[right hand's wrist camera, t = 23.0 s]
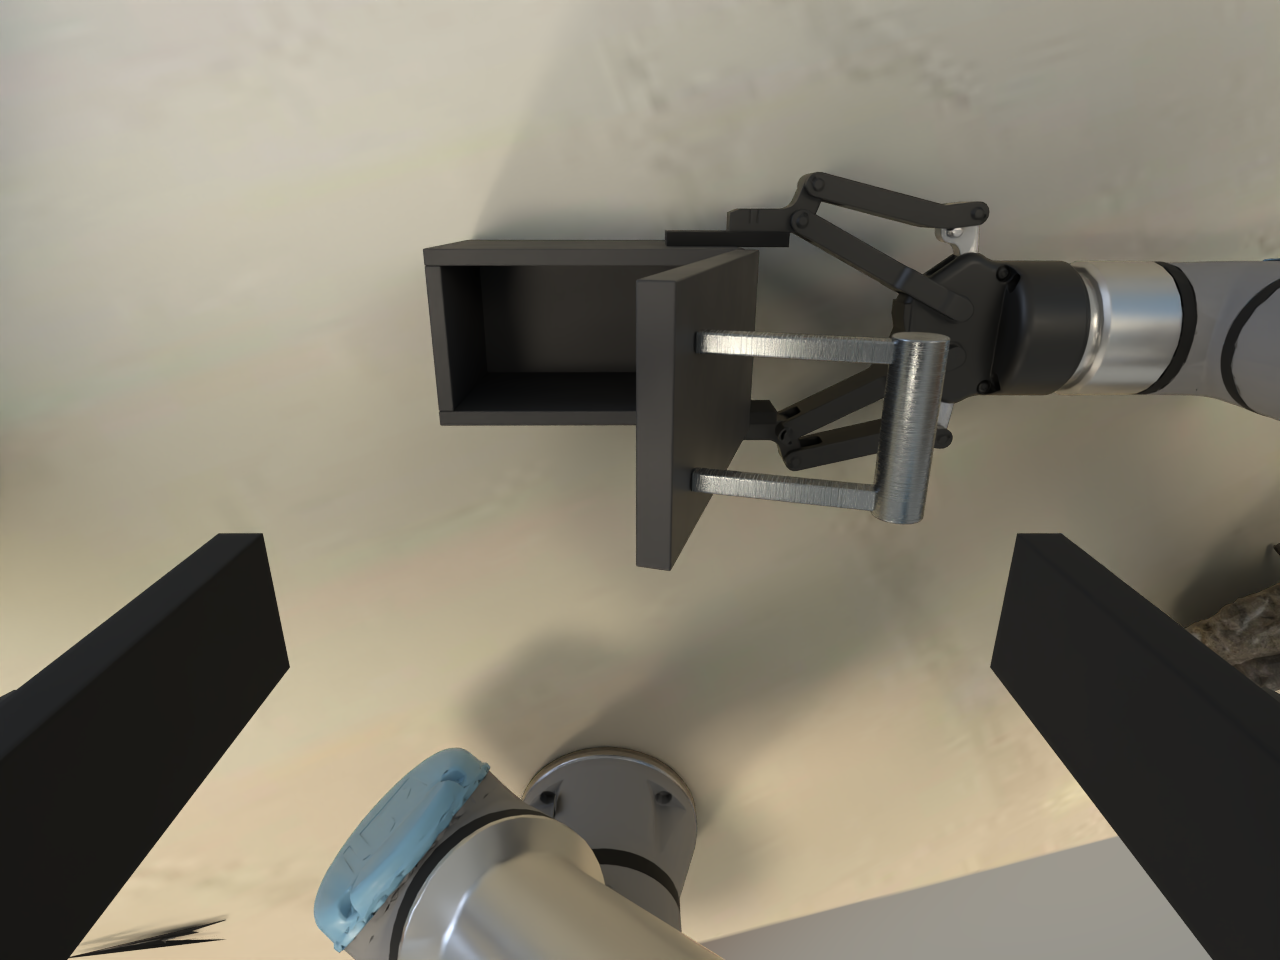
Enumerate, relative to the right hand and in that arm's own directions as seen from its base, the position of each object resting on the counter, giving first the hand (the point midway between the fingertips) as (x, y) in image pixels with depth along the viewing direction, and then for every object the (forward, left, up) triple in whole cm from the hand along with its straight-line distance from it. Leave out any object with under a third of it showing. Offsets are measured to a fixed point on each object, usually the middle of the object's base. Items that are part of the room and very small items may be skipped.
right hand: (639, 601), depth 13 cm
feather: (-77, +13, -37) cm, 86 cm away
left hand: (+1, -1, -30) cm, 31 cm away
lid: (+1, -2, -18) cm, 18 cm away
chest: (-2, +2, -37) cm, 37 cm away
